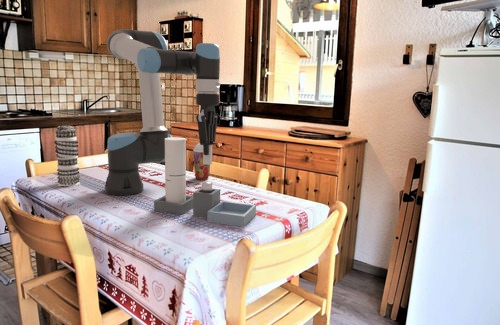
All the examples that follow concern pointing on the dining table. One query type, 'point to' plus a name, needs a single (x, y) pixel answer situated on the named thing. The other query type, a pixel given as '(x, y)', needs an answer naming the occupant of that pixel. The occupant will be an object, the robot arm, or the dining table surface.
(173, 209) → the dark grey square bin
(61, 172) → the decorative candle
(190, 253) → the dining table surface
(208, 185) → the plunger
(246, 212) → the tray
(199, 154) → the smoothie
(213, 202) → the housing block
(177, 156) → the white tall block
